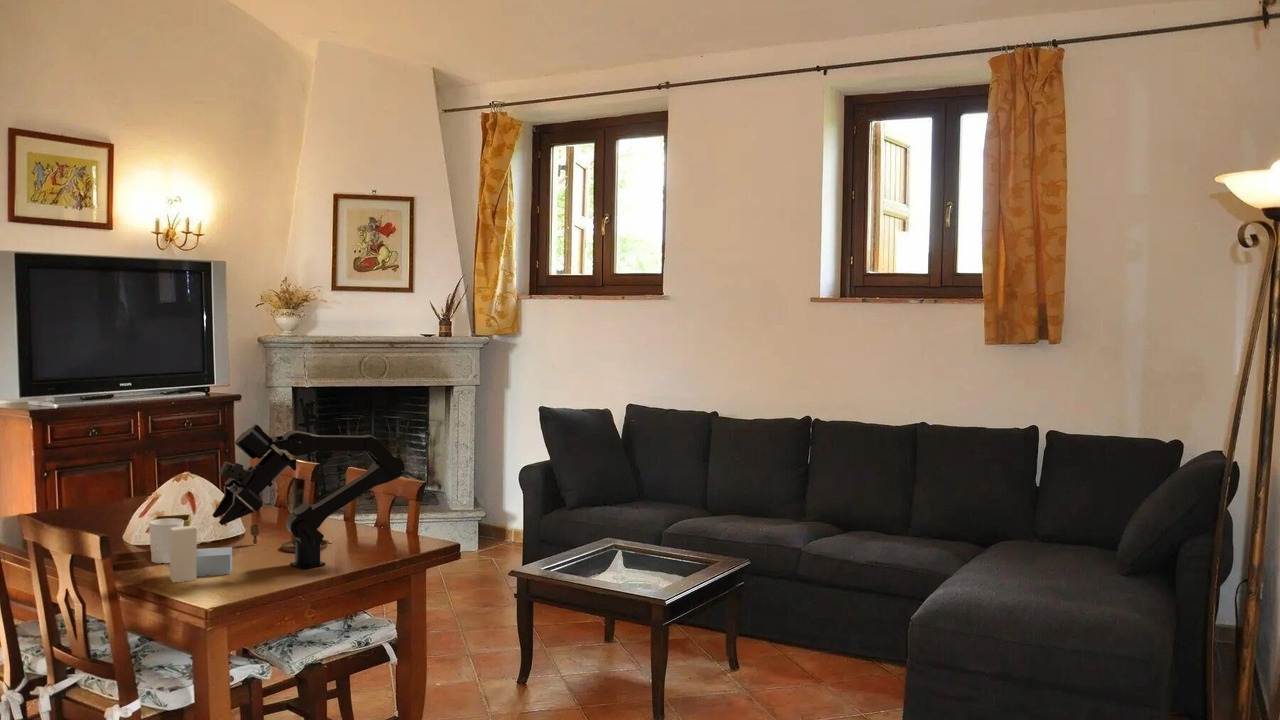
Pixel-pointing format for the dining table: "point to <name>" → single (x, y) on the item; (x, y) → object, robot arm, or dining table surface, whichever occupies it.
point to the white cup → (162, 538)
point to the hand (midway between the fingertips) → (216, 520)
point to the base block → (214, 561)
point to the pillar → (183, 553)
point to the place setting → (256, 530)
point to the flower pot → (184, 517)
